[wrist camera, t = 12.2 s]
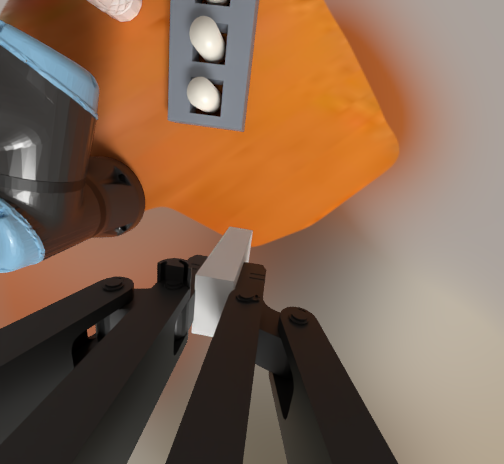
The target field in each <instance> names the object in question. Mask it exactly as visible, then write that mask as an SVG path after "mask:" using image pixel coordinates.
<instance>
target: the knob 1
mask: <svg viewBox="0 0 504 464" xmlns="http://www.w3.org/2000/svg"><path fill="white" fill-rule="evenodd" d="M187 96H188V99H189V101H190V103H191V104H192V105H194V106H195V107H197V108H199V109H200V110H202V111H204V112H206V113H209V114H212V113H215V112H217V111H218V110H219V109H220V107H221V105H222V96H221V94H220V92H219V90H218V89H217V88H216V87H215V86H214V85H213V84H212V83H211V82H210V81H209V80H208V79H207V78H205V77H195V78H194V79H192V80H191V81H190V83H189V84H188V87H187Z"/></svg>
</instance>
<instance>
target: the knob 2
mask: <svg viewBox="0 0 504 464" xmlns="http://www.w3.org/2000/svg"><path fill="white" fill-rule="evenodd" d="M229 1H230V0H206V2H207V4H209V5H218V6H226V5H227V4H228V3H229Z"/></svg>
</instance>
